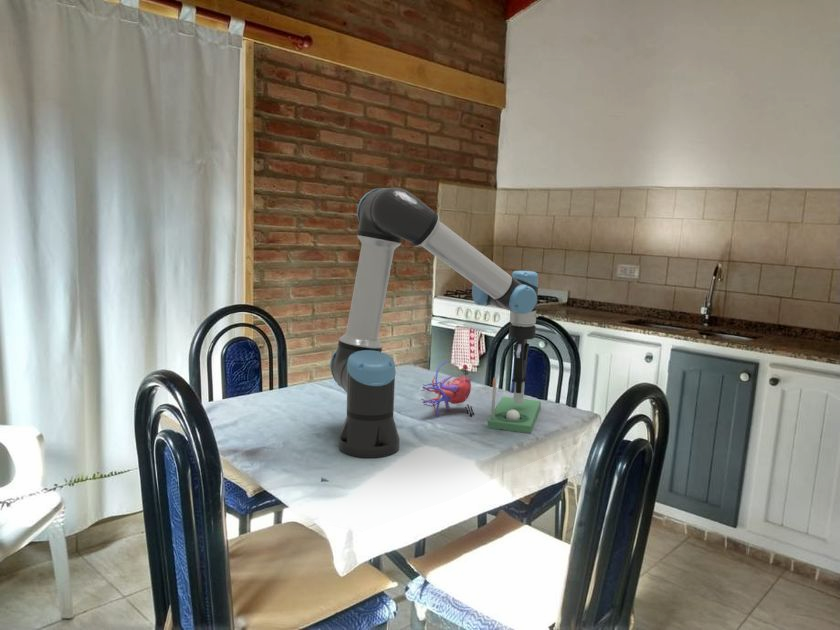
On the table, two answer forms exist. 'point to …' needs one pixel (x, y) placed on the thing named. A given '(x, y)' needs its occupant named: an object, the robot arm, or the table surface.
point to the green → (525, 410)
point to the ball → (513, 415)
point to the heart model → (450, 391)
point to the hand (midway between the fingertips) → (518, 402)
